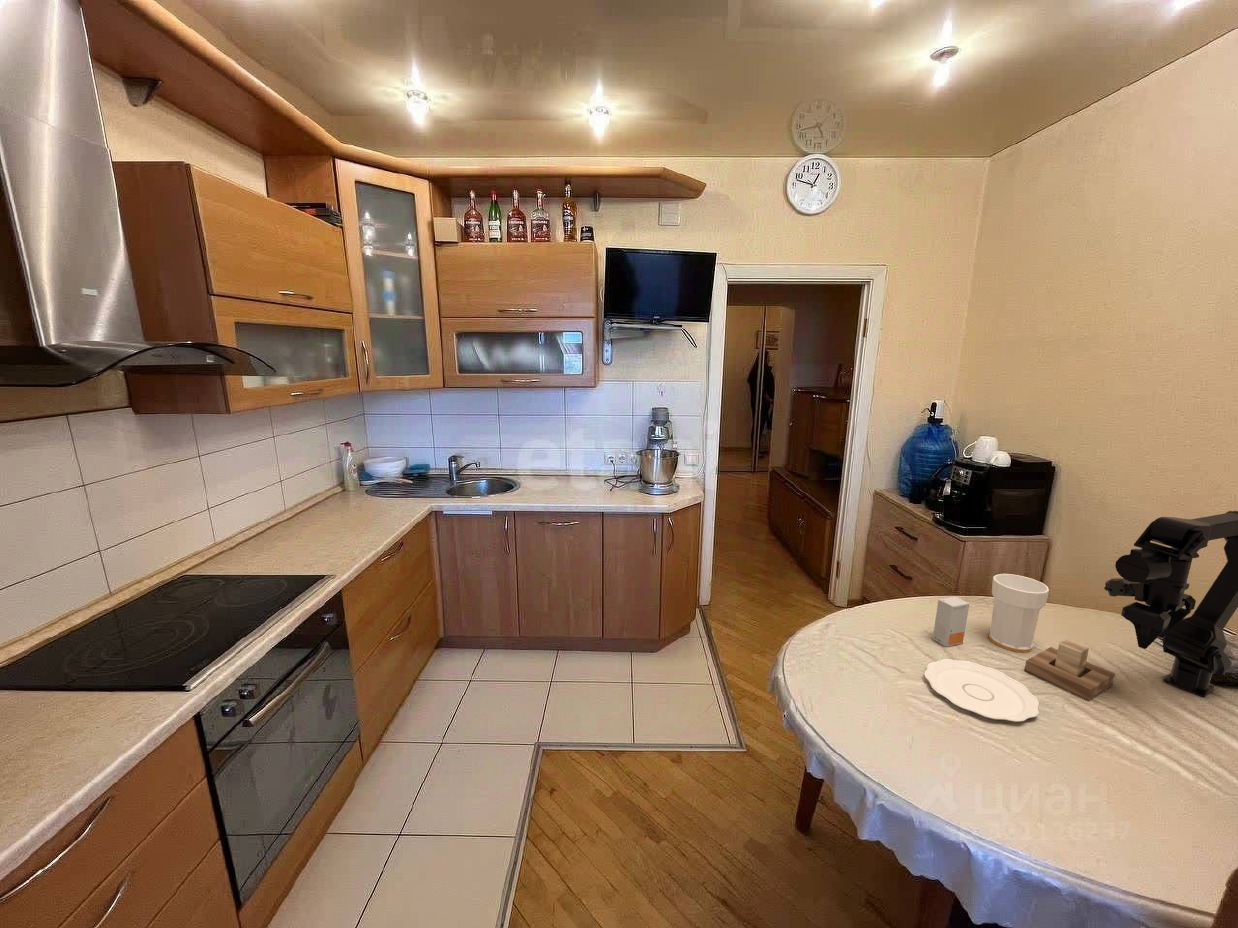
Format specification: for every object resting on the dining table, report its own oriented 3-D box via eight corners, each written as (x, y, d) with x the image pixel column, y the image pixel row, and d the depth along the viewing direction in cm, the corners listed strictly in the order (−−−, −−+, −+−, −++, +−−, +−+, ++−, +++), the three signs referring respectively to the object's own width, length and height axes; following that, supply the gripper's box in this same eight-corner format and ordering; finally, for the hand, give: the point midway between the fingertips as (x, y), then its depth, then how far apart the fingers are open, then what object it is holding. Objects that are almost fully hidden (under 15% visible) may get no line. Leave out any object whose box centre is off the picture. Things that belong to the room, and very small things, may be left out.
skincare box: (946, 647, 126) (952, 606, 124) (932, 639, 130) (937, 598, 128) (964, 644, 128) (970, 603, 125) (949, 635, 132) (955, 595, 129)
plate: (1062, 733, 97) (1063, 726, 97) (948, 719, 101) (949, 712, 101) (1003, 670, 117) (1004, 664, 117) (910, 660, 121) (911, 654, 121)
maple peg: (1061, 668, 116) (1067, 639, 114) (1082, 678, 112) (1089, 647, 111) (1053, 673, 114) (1059, 643, 113) (1074, 683, 111) (1081, 652, 109)
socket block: (1048, 657, 121) (1050, 646, 121) (1112, 684, 111) (1115, 673, 110) (1024, 671, 116) (1026, 660, 116) (1088, 701, 106) (1091, 689, 105)
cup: (1049, 655, 122) (1061, 592, 119) (1005, 655, 123) (1015, 593, 119) (1014, 630, 133) (1024, 573, 130) (973, 631, 134) (982, 573, 130)
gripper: (1132, 555, 113) (1119, 615, 116) (1096, 571, 105) (1083, 635, 108) (1203, 573, 103) (1187, 637, 106) (1170, 592, 95) (1153, 661, 98)
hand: (1150, 642), depth 105 cm, fingers open, 9 cm apart
